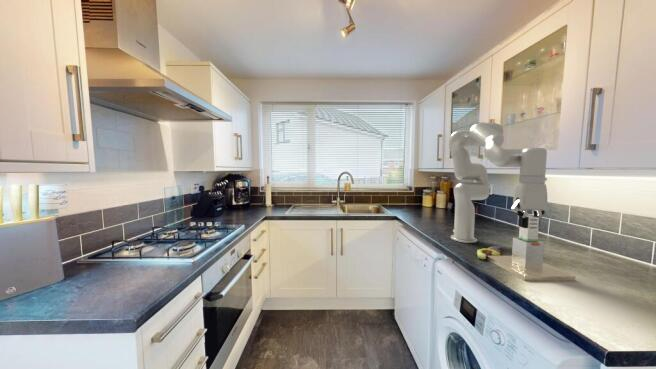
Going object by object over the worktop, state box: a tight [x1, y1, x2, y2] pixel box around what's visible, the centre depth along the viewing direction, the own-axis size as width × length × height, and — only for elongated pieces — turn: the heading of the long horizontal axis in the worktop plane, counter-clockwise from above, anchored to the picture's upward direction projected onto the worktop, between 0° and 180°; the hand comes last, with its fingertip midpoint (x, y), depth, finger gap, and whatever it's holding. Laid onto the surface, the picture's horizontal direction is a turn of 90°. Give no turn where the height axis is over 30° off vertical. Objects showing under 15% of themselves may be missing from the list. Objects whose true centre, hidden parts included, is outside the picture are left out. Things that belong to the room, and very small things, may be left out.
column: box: [518, 214, 540, 242], centre depth 93 cm, size 4×4×15 cm
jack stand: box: [486, 237, 576, 282], centre depth 94 cm, size 20×18×12 cm
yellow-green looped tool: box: [476, 245, 505, 260], centre depth 110 cm, size 8×3×25 cm
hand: (528, 226), depth 93 cm, fingers closed on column, 4 cm apart
